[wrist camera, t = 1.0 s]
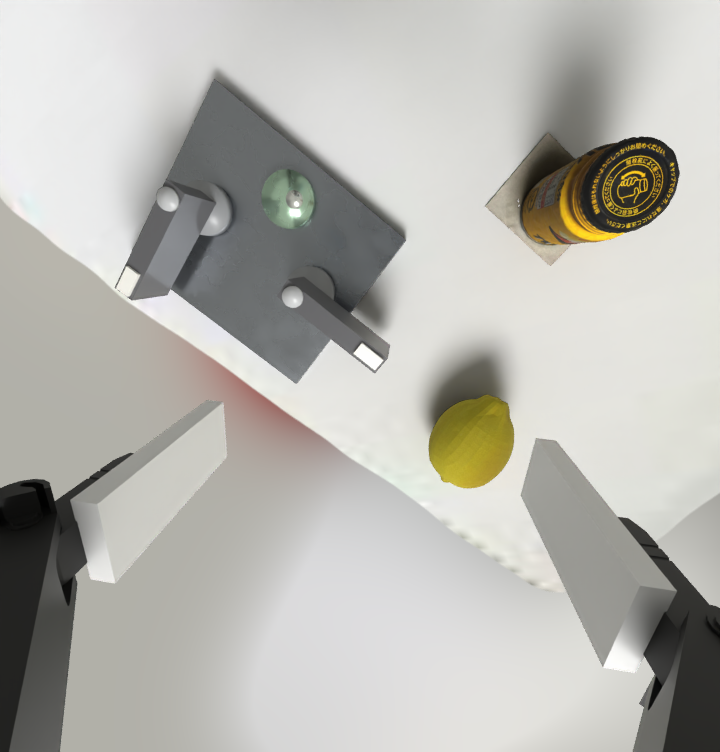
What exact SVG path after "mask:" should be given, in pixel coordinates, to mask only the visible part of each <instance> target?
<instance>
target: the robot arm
mask: <svg viewBox="0 0 720 752" xmlns="http://www.w3.org/2000/svg"><path fill="white" fill-rule="evenodd" d="M226 447H227V446H226V433H225V418H224V404H223V402H217V401H209V400H206V401H205V402H204V403H202V404H201V405H200V406H198V407H197V408H195V409H194V410H193V411H191V412H190V413H189V414H187V415H186V416H184V417H183V418H182V419H180V420H179V421H178V422H176V423H175V424H174V425H172V426H171V427H170V428H168V429H167V430H165V431H164V432H163V433H161V434H160V435H159V436H157V437H156V438H154V439H153V440H152V441H150V442H149V443H148V444H146V445H145V446H144V447H142V448H141V449H139V450H138V451H137V452H135V453H129V454H126V455H124V456H122V457H119V458H117V459H115V460H113V461H112V462H110V463H109V464H107V465H106V466H104V467H103V468H102V469H101V470H100V471H97V472H96V473H95V474H93V475H92V476H90V478H89V479H86V480H85V481H83V482H82V483H80V484H79V485H77V486H76V487H75V488H73V489H72V490H71V491H69V492H68V493H66V494H65V495H63V496H62V497H60V498H59V499H58V500H56V501H54V498H53V494H52V490H51V486H50V483H49V482H47V481H45V480H39V479H32V480H24V481H19V482H16V483H13V484H9V485H7V486H4V487H2V488H0V752H60V744H61V735H62V725H63V724H62V723H63V715H64V705H65V697H66V686H67V677H68V668H69V658H70V648H71V639H72V630H73V620H74V610H75V600H76V591H77V581H76V577H75V574H76V573H77V572H78V571H79V570H80V569H81V568H82V567H83V566H84V565H85V564H86V563H87V567H88V571H89V575H90V578H91V579H92V580H98V581H104V582H110V583H116V582H117V581H118V580H119V579H120V577H121V576H122V575H123V574H124V573H125V572H126V571H127V570H128V569H129V567H130V566H131V565H132V564H133V563H134V562H135V561H136V559H137V558H138V557H139V556H140V555H141V554H142V553H143V551H144V550H145V549H146V548H147V547H148V546H149V545H150V544H151V542H152V541H153V540H154V539H155V538H156V537H157V536H158V535H159V533H160V532H161V531H162V530H163V529H164V528H165V527H166V525H167V524H168V523H169V522H170V521H171V520H172V519H173V518H174V516H175V515H176V514H177V513H178V512H179V511H180V510H181V508H182V507H183V506H184V505H185V504H186V503H187V502H188V500H189V499H190V498H191V497H192V496H193V495H194V494H195V493H196V491H197V490H198V489H199V488H200V487H201V486H202V485H203V484H204V482H205V481H206V480H207V479H208V478H209V476H210V475H212V473H213V472H214V471H215V470H216V469H217V468H218V467H219V465H220V464H221V463H222V462H223V461H224V460H225V459H226V457H227V448H226ZM521 497H522V499H523V501H524V503H525V505H526V507H527V509H528V511H529V513H530V516H531V518H532V520H533V522H534V524H535V526H536V528H537V530H538V532H539V534H540V537H541V539H542V541H543V543H544V545H545V547H546V549H547V551H548V553H549V555H550V558H551V560H552V562H553V564H554V566H555V568H556V570H557V572H558V574H559V576H560V578H561V581H562V583H563V585H564V587H565V589H566V591H567V593H568V595H569V597H570V599H571V602H572V604H573V606H574V608H575V610H576V612H577V614H578V616H579V618H580V620H581V622H582V625H583V627H584V629H585V631H586V633H587V635H588V637H589V639H590V641H591V643H592V646H593V647H594V650H595V652H596V654H597V656H598V658H599V660H600V662H601V664H602V666H603V667H604V668H609V669H615V670H621V671H627V672H633V673H636V671H637V669H638V667H639V666H640V664H641V661H642V660H643V658H644V656H645V658H646V660H647V661H648V663H649V665H650V666H651V668H652V670H653V672H654V673H655V675H654V677H653V679H652V681H651V683H650V684H649V686H648V688H647V690H646V692H645V694H644V696H643V697H642V699H641V701H640V703H639V704H641V705H642V706H643V707H644V709H643V713H642V717H641V721H640V725H639V729H638V733H637V737H636V741H635V745H634V749H633V752H720V608H718V607H716V606H713V605H709V604H708V603H707V601H706V600H705V599H704V598H703V597H702V596H701V595H700V593H699V592H698V591H697V590H696V589H695V588H694V586H693V585H692V584H691V583H690V582H689V581H688V579H687V578H686V577H685V576H684V575H683V574H682V573H681V571H680V570H679V569H678V568H677V567H676V566H675V564H674V563H673V562H672V561H669V558H668V556H667V555H666V554H665V553H664V552H663V551H662V550H661V549H659V548H658V545H657V544H656V543H655V541H654V540H653V539H652V538H651V537H650V536H649V534H648V533H647V532H646V531H645V530H643V529H642V528H641V527H639V526H638V525H637V524H635V523H634V522H633V521H631V520H630V519H629V518H622V517H617V516H616V515H615V513H614V512H613V511H612V510H611V508H610V507H609V506H608V505H607V503H606V502H605V501H604V500H603V499H602V497H601V496H600V495H599V494H598V492H597V491H596V490H595V489H594V487H593V486H592V485H591V484H590V482H589V481H588V480H587V479H586V477H585V476H584V475H583V474H582V472H581V471H580V470H579V469H578V467H577V466H576V465H575V464H574V462H573V461H572V460H571V459H570V458H569V456H568V455H567V454H566V453H565V451H564V450H563V449H562V448H561V446H560V445H559V444H558V443H557V441H554V440H546V439H537V438H536V440H535V444H534V448H533V451H532V455H531V459H530V463H529V466H528V470H527V474H526V478H525V481H524V485H523V489H522V493H521Z"/></svg>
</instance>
